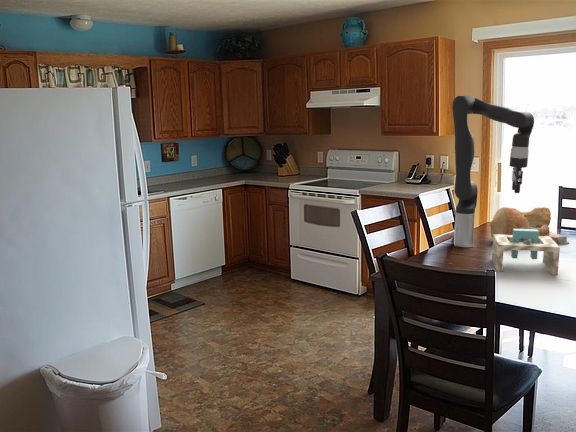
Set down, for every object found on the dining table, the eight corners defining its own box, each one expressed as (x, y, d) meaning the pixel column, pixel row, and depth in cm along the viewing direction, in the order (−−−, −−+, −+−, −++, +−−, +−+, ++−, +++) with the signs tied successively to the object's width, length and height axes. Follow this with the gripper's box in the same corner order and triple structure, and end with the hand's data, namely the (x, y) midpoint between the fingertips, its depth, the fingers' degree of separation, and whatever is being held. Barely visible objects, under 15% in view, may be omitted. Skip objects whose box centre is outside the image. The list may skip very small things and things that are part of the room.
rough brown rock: (549, 231, 317) (550, 205, 316) (550, 235, 302) (551, 208, 301) (506, 229, 326) (507, 204, 325) (504, 233, 311) (505, 207, 310)
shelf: (497, 271, 239) (499, 241, 237) (491, 259, 259) (493, 231, 256) (557, 274, 234) (560, 244, 231) (547, 262, 253) (549, 233, 250)
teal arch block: (512, 258, 245) (514, 230, 242) (511, 255, 248) (512, 228, 246) (537, 259, 242) (539, 231, 240) (535, 256, 246) (537, 229, 244)
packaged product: (570, 235, 285) (555, 237, 281) (569, 244, 286) (554, 246, 282) (543, 228, 301) (529, 230, 298) (543, 237, 302) (528, 238, 299)
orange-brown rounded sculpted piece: (479, 216, 298) (531, 221, 302) (483, 249, 290) (537, 253, 293) (496, 199, 281) (552, 204, 284) (502, 233, 272) (559, 238, 276)
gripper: (508, 154, 261) (505, 188, 265) (512, 157, 248) (508, 193, 251) (525, 155, 260) (522, 189, 263) (530, 158, 246) (526, 194, 250)
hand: (515, 191), depth 257 cm, fingers open, 8 cm apart
